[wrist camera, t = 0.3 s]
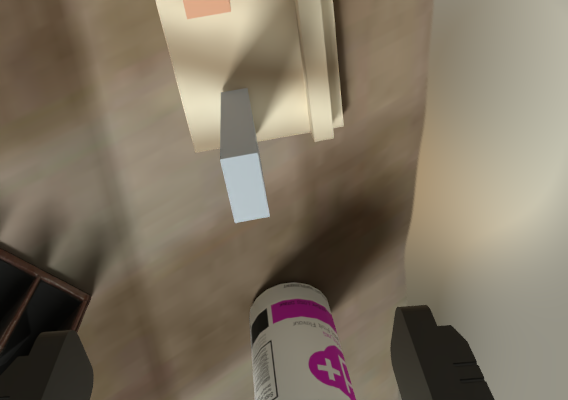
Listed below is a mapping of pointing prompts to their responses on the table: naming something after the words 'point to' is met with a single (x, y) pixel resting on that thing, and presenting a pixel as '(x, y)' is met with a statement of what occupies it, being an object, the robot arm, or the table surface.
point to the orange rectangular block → (205, 7)
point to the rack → (257, 66)
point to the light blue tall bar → (241, 157)
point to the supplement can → (296, 346)
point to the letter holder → (33, 306)
